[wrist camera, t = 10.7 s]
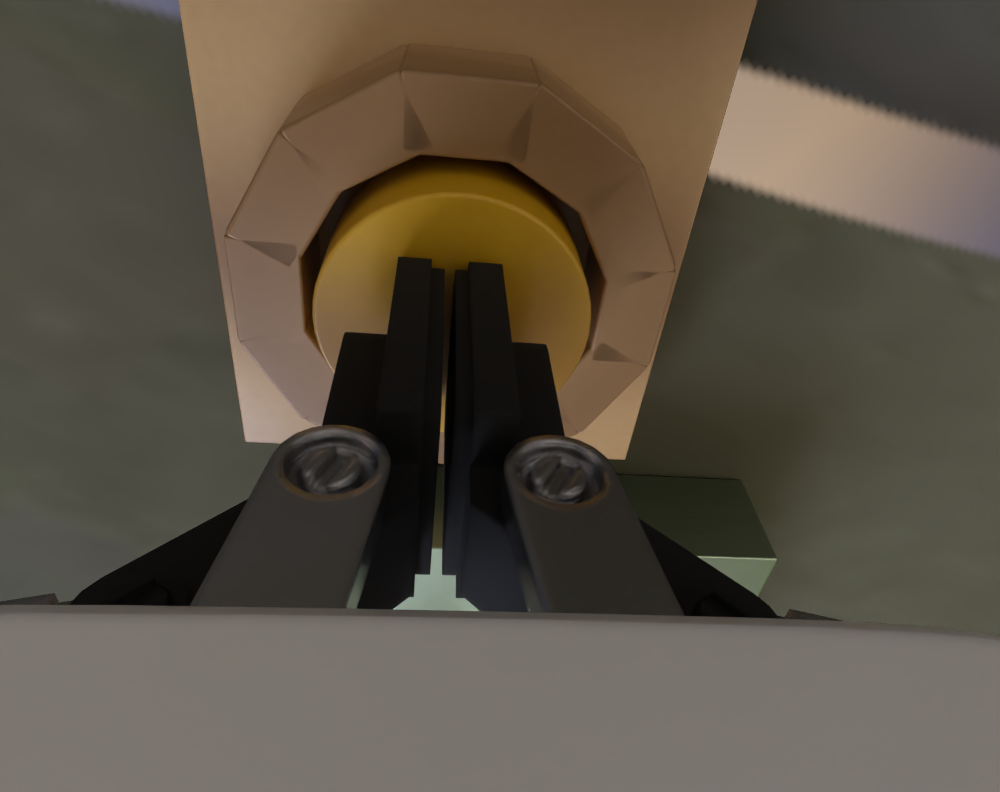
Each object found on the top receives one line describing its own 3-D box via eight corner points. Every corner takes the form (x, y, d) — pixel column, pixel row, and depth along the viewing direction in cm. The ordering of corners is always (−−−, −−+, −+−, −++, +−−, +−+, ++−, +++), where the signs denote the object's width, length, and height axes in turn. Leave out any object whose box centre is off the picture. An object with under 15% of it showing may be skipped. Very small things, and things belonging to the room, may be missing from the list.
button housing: (208, -88, 12) (116, -70, 9) (719, -26, 13) (806, 12, 10) (265, 385, 18) (223, 499, 15) (610, 404, 19) (640, 515, 16)
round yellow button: (321, 141, 11) (302, 180, 10) (599, 166, 12) (617, 206, 10) (332, 371, 14) (318, 427, 13) (557, 384, 15) (567, 440, 13)
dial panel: (401, 464, 20) (393, 551, 17) (741, 479, 21) (780, 564, 18) (395, 692, 27) (388, 778, 24) (647, 695, 28) (666, 778, 25)
